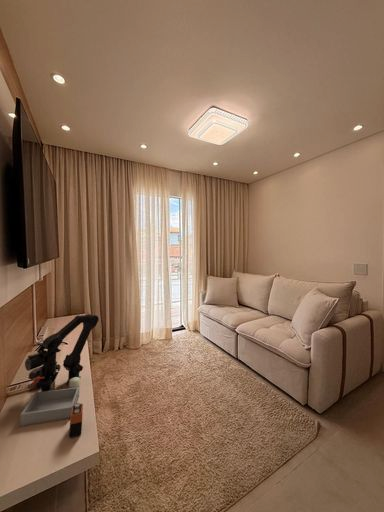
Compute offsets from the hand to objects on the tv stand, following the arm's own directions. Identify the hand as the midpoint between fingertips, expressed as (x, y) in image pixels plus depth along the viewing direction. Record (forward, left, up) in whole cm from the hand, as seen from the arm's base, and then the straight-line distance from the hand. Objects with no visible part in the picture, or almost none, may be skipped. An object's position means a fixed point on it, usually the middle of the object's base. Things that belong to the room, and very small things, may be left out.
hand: (47, 391), depth 111 cm
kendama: (-15, -8, -1) cm, 17 cm away
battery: (+30, +20, -1) cm, 36 cm away
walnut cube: (0, 0, -1) cm, 1 cm away
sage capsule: (+2, +13, -1) cm, 13 cm away
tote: (+14, +6, -1) cm, 15 cm away
